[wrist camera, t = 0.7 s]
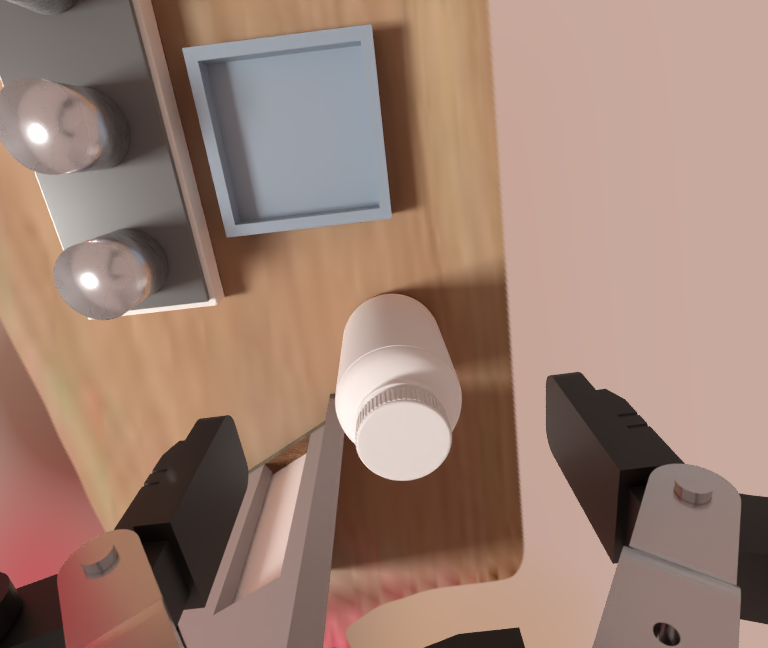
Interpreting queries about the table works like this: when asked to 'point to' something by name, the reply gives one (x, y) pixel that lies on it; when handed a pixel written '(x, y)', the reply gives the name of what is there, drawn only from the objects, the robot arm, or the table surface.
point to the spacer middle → (61, 127)
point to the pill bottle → (397, 388)
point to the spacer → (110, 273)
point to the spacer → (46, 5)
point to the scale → (147, 147)
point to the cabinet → (277, 551)
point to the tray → (292, 129)
